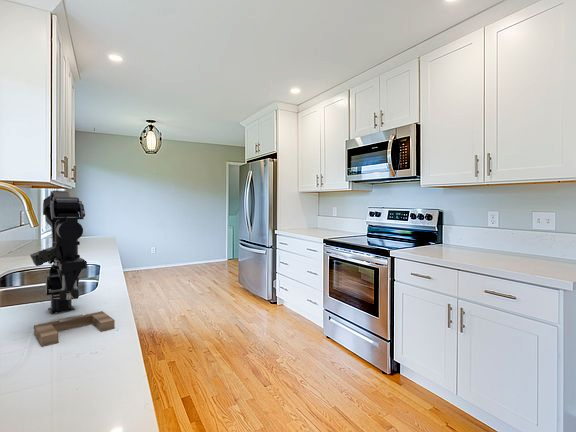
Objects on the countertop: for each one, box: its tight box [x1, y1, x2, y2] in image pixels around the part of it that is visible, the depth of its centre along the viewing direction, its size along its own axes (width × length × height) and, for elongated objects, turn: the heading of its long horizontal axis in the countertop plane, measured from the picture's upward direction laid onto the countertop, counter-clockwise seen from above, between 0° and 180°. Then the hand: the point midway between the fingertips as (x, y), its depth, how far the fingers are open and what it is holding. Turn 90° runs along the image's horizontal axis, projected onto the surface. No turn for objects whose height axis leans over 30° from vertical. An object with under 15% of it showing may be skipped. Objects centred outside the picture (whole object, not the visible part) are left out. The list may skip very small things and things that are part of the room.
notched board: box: [33, 310, 116, 347], centre depth 89 cm, size 11×17×3 cm, turn 137°
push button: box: [54, 272, 80, 300], centre depth 96 cm, size 7×5×10 cm
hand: (66, 289), depth 96 cm, fingers closed on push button, 4 cm apart
